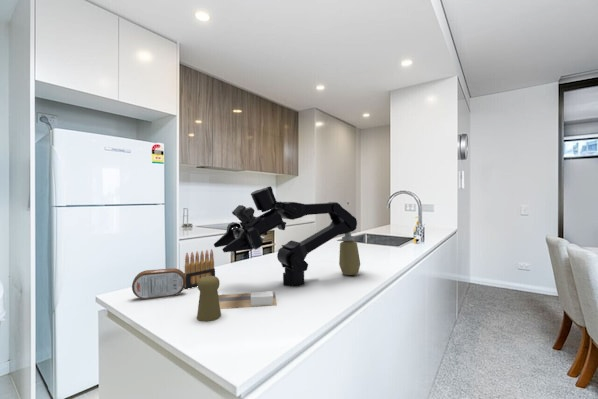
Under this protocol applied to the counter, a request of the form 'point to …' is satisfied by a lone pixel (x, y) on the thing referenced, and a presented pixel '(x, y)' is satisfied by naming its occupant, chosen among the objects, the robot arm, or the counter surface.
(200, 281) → the cork
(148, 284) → the tin
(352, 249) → the squeeze bottle
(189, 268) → the ammunition clip
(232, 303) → the oak plank
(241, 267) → the counter surface
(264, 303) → the white rectangular prism
